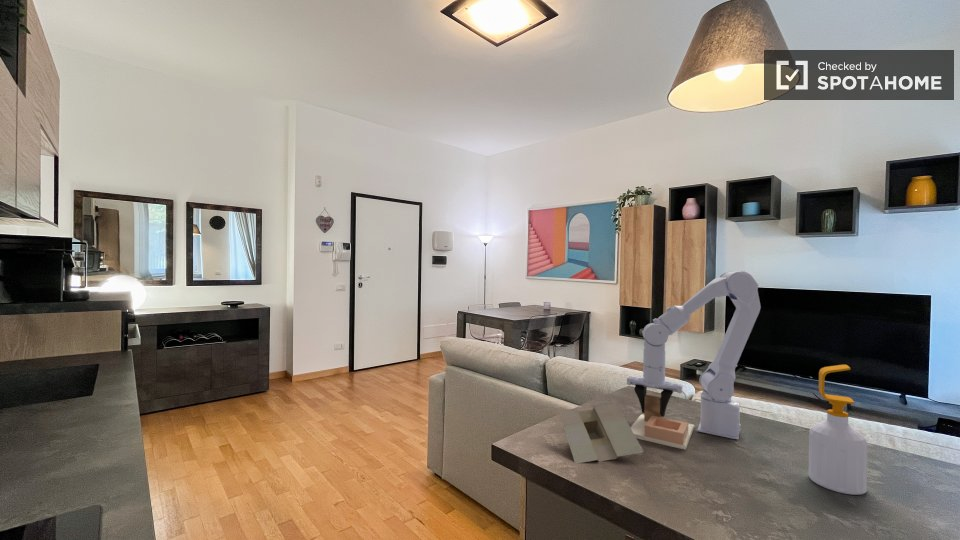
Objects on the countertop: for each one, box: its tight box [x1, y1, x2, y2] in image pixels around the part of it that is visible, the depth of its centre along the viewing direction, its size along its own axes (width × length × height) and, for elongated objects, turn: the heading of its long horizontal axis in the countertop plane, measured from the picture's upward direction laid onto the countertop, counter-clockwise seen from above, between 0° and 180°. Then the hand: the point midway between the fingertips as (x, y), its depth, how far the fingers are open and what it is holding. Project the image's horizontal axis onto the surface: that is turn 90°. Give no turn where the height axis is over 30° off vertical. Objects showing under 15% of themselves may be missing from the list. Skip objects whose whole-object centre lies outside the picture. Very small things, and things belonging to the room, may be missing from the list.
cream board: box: [630, 413, 695, 451], centre depth 110 cm, size 14×17×1 cm
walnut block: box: [643, 392, 662, 422], centre depth 116 cm, size 4×4×7 cm
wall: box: [558, 402, 644, 464], centre depth 100 cm, size 16×9×15 cm
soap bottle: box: [808, 364, 868, 496], centre depth 84 cm, size 9×9×25 cm
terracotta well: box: [645, 416, 689, 445], centre depth 106 cm, size 9×9×3 cm
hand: (653, 413), depth 116 cm, fingers open, 4 cm apart
